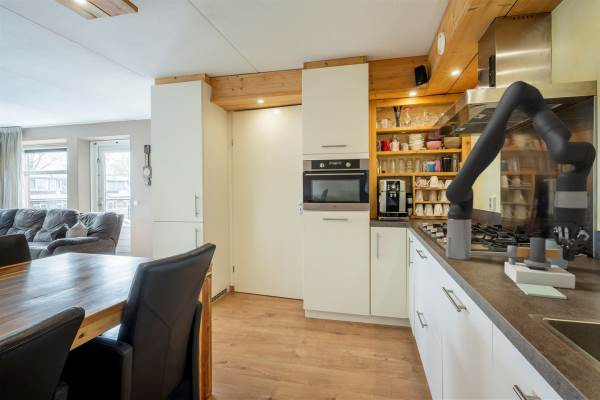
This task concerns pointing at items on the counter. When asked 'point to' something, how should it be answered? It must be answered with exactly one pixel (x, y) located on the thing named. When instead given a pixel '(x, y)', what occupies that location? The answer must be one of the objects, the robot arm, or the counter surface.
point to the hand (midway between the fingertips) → (568, 260)
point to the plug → (537, 255)
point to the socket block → (539, 275)
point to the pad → (541, 291)
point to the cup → (560, 262)
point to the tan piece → (525, 252)
